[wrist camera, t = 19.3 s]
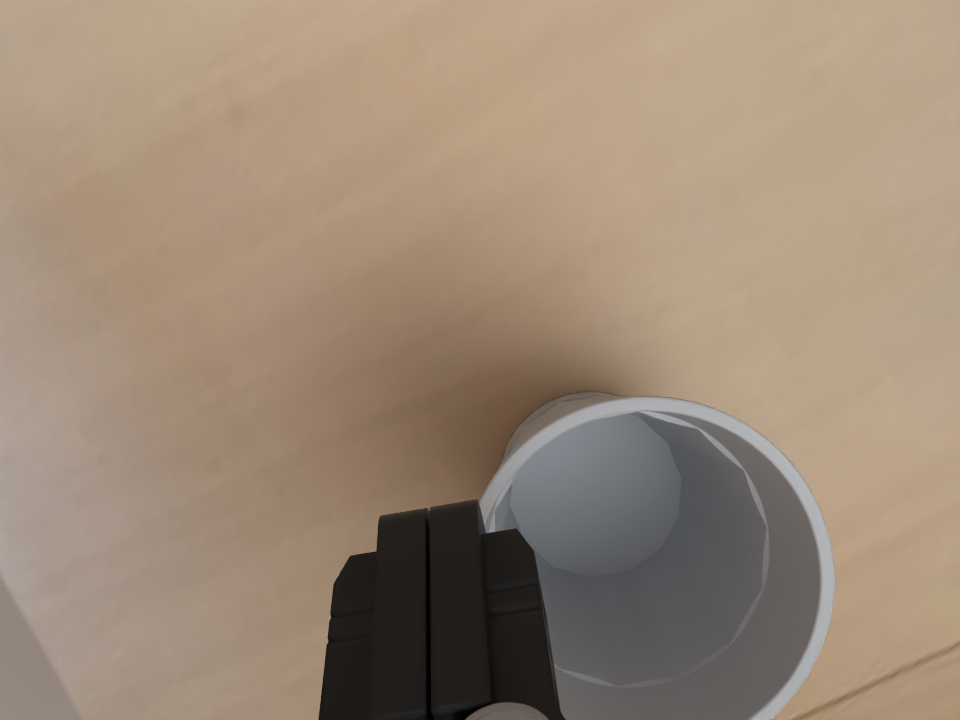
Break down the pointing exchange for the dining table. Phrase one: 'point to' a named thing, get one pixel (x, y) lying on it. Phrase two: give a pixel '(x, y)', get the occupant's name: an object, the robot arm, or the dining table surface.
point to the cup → (666, 557)
